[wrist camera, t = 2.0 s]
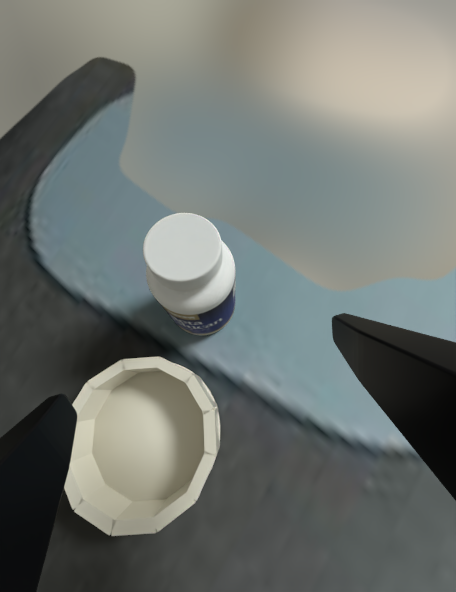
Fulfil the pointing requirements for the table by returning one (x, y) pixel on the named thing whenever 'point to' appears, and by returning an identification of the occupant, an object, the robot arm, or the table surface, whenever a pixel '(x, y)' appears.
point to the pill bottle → (191, 272)
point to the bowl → (141, 445)
